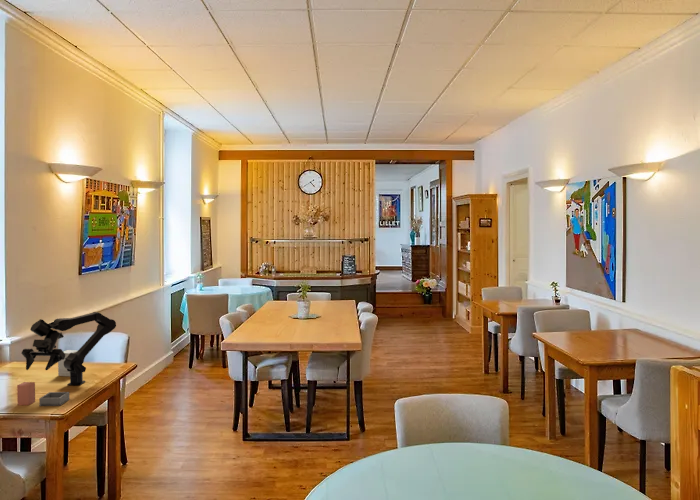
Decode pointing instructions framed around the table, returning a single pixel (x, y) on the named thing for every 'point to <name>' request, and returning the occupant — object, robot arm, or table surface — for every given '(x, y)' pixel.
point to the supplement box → (61, 369)
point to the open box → (54, 399)
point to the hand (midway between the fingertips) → (36, 369)
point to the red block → (26, 393)
